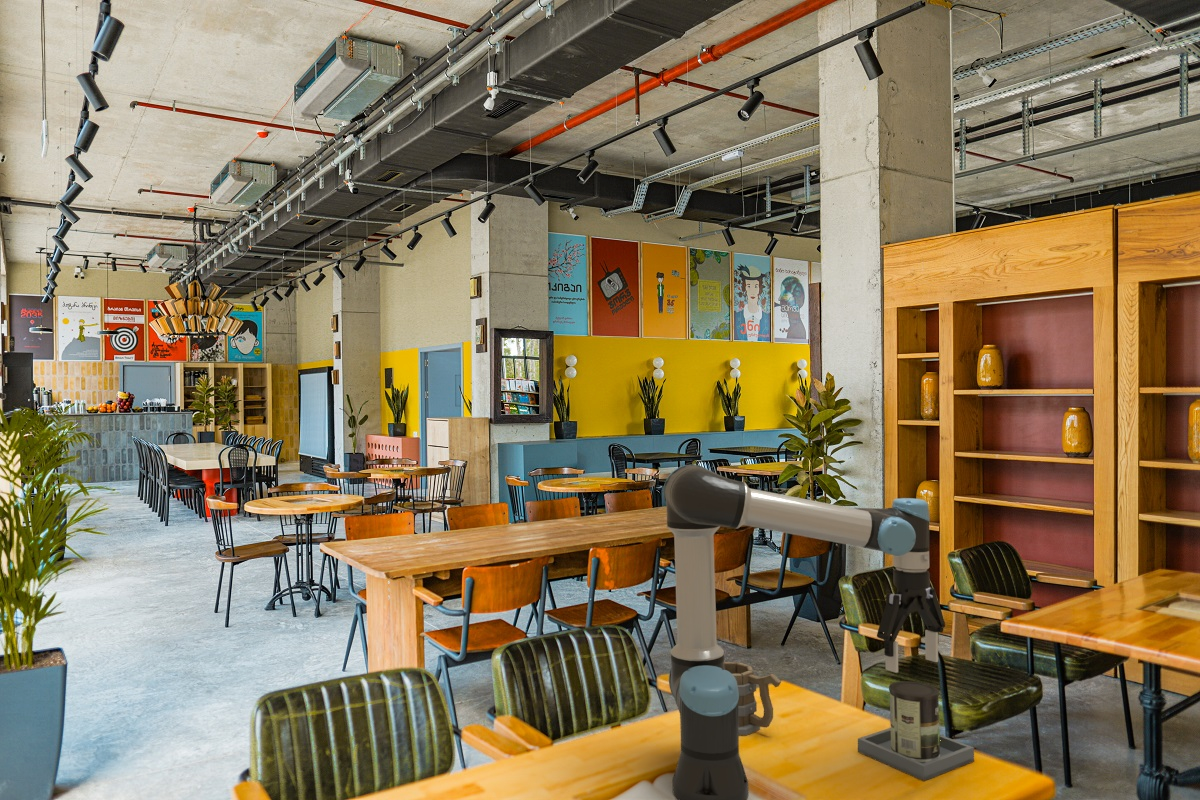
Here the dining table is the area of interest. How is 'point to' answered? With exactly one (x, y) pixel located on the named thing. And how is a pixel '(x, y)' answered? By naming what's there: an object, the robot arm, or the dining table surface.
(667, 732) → the dining table surface
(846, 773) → the dining table surface
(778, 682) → the tankard
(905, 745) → the coffee can
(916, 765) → the tray
